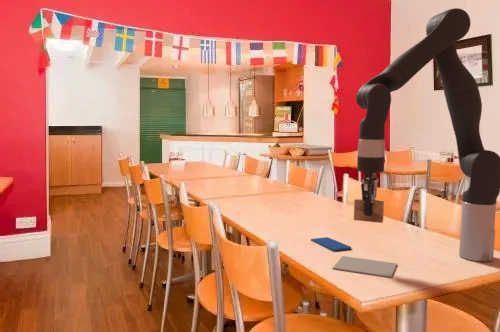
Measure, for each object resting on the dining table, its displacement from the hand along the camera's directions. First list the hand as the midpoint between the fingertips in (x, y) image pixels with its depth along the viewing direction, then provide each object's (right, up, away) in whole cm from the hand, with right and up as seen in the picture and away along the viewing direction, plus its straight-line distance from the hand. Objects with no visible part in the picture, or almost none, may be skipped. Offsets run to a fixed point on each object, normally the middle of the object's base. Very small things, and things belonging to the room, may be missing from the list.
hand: (368, 214), depth 130 cm
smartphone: (-7, -13, +21) cm, 26 cm away
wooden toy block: (0, -2, 0) cm, 2 cm away
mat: (-1, -15, -1) cm, 15 cm away
